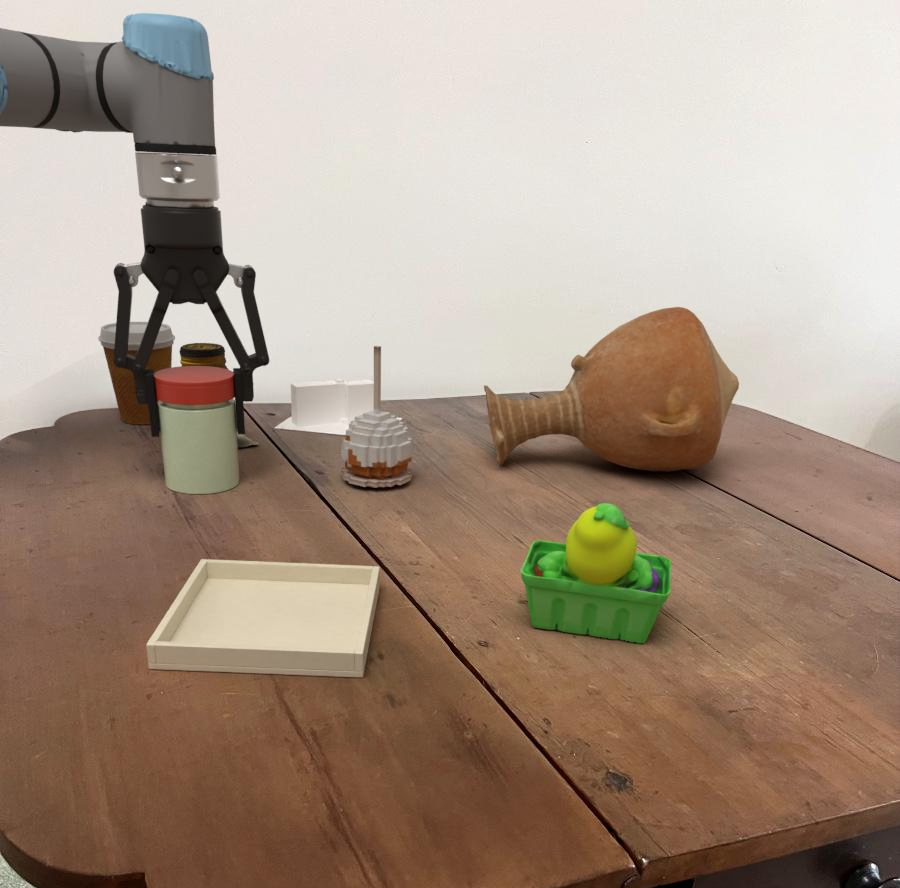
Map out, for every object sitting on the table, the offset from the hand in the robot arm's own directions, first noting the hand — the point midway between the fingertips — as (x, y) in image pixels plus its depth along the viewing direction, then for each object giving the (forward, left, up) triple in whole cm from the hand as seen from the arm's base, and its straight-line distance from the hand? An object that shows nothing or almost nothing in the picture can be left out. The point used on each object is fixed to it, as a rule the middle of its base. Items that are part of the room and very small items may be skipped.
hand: (198, 431), depth 99 cm
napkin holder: (+12, +27, -6) cm, 30 cm away
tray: (+14, -33, -6) cm, 36 cm away
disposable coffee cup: (-14, +25, -6) cm, 29 cm away
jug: (+46, +13, -6) cm, 48 cm away
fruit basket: (+39, -31, -6) cm, 50 cm away
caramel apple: (+19, +3, -6) cm, 20 cm away
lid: (0, 0, +6) cm, 6 cm away
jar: (0, 0, -6) cm, 6 cm away
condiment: (-2, +15, -6) cm, 16 cm away
